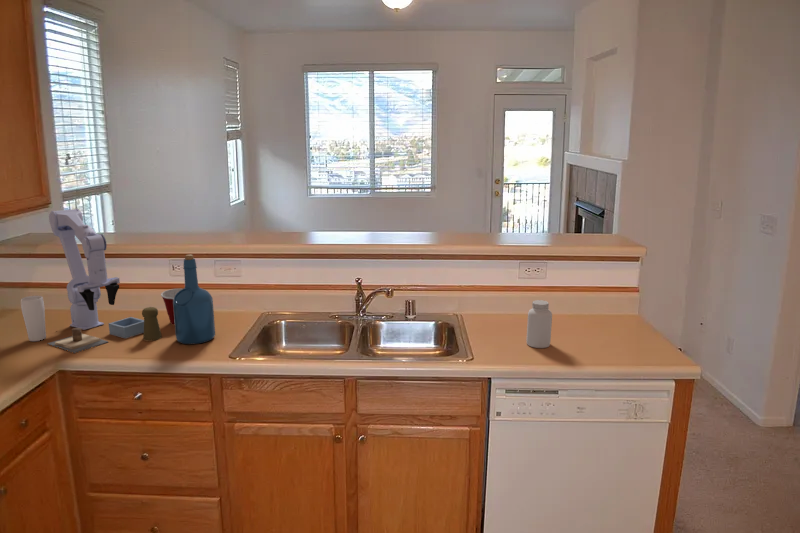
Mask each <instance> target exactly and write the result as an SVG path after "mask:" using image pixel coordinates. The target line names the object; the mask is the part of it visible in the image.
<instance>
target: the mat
mask: <svg viewBox="0 0 800 533" xmlns="http://www.w3.org/2000/svg"><path fill="white" fill-rule="evenodd" d="M70 337H73V336H72V335H70V336H68V337H64V338H60V339H57V340H53V341H51V342H47V343H46V344H47V345H48V344H49V345H48V346H51V345H52V346H51V347H54V346H55V347H54V348H57V347H59V348H58V349H60V348H62V349H61V350H63V349H64V350H63V351H66V350H68V351H67V352H69V351H70V352H69V353H72V352H73V354H77V353H80V352H82V350H83V351H86V350H89V349H92V348H91V347H93V348H95V346H96V347H98V346H101V345H105V344H108V343H109V341H108V340H106V339H102V338H100V341H97V342H94V343H91V344H88V345H85V346H82V347H79V348H76V349H70V348H66V347H62V346H59V345H55V342H57V341H60V340H63V339H67V338H70ZM85 349H86V350H85ZM79 351H80V352H79ZM76 352H77V353H76Z"/></svg>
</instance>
